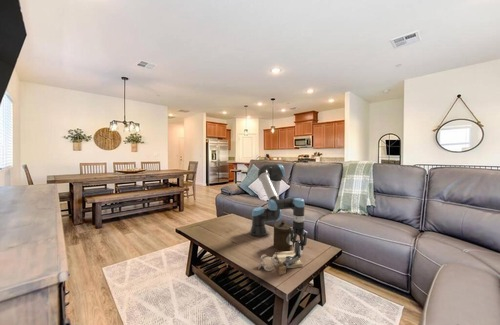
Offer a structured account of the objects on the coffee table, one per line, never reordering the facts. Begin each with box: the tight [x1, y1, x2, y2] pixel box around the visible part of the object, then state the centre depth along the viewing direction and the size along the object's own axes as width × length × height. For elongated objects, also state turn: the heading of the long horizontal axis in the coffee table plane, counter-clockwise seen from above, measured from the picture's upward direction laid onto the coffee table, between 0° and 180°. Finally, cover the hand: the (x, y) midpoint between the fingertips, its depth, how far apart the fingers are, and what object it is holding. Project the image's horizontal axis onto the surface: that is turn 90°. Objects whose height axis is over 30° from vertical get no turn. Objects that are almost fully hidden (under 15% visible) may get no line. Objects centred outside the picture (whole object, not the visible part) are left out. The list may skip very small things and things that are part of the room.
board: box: [274, 250, 304, 269], centre depth 151 cm, size 20×14×2 cm
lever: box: [283, 239, 302, 269], centre depth 146 cm, size 19×4×11 cm, turn 139°
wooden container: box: [272, 219, 293, 252], centre depth 170 cm, size 15×15×22 cm
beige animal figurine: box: [257, 253, 279, 272], centre depth 144 cm, size 16×10×10 cm, turn 134°
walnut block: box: [275, 263, 287, 276], centre depth 138 cm, size 4×4×4 cm
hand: (298, 252), depth 152 cm, fingers closed on lever, 4 cm apart
